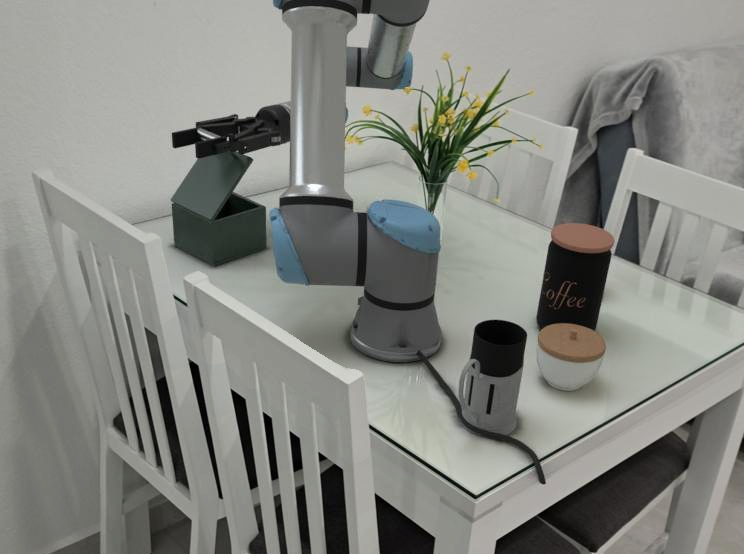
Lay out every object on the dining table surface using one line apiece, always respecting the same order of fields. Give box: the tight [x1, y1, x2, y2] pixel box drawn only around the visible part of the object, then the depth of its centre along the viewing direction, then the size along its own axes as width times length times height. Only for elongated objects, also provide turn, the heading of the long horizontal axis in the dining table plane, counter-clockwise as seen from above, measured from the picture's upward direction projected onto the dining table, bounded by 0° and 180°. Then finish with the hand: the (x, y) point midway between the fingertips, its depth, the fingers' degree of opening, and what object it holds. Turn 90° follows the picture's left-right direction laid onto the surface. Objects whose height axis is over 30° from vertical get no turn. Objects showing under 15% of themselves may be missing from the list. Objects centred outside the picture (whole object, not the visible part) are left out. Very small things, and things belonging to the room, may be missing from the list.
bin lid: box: [169, 128, 254, 222], centre depth 168 cm, size 14×12×7 cm
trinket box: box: [536, 323, 607, 392], centre depth 145 cm, size 11×11×9 cm
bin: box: [171, 191, 267, 267], centre depth 177 cm, size 13×12×9 cm
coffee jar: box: [535, 222, 615, 332], centre depth 157 cm, size 11×11×18 cm
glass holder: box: [457, 319, 528, 437], centre depth 130 cm, size 9×14×15 cm, turn 146°
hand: (185, 145), depth 163 cm, fingers closed on bin lid, 6 cm apart
